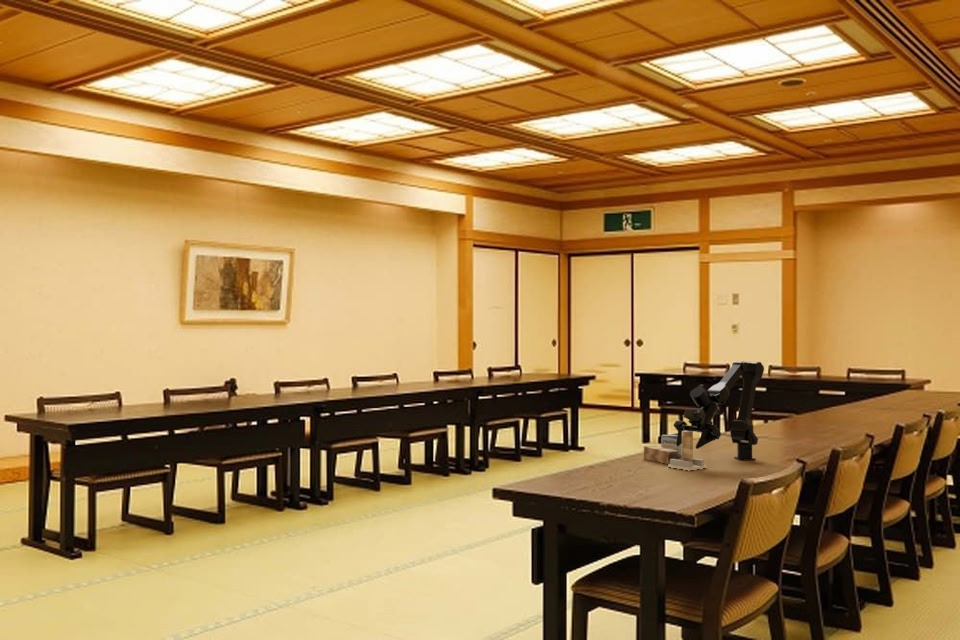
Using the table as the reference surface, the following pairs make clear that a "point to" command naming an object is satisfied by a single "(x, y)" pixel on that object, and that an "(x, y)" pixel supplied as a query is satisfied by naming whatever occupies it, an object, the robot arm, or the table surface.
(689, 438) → the dowel
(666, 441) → the medicine box
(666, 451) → the beam
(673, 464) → the cradle
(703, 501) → the table surface
